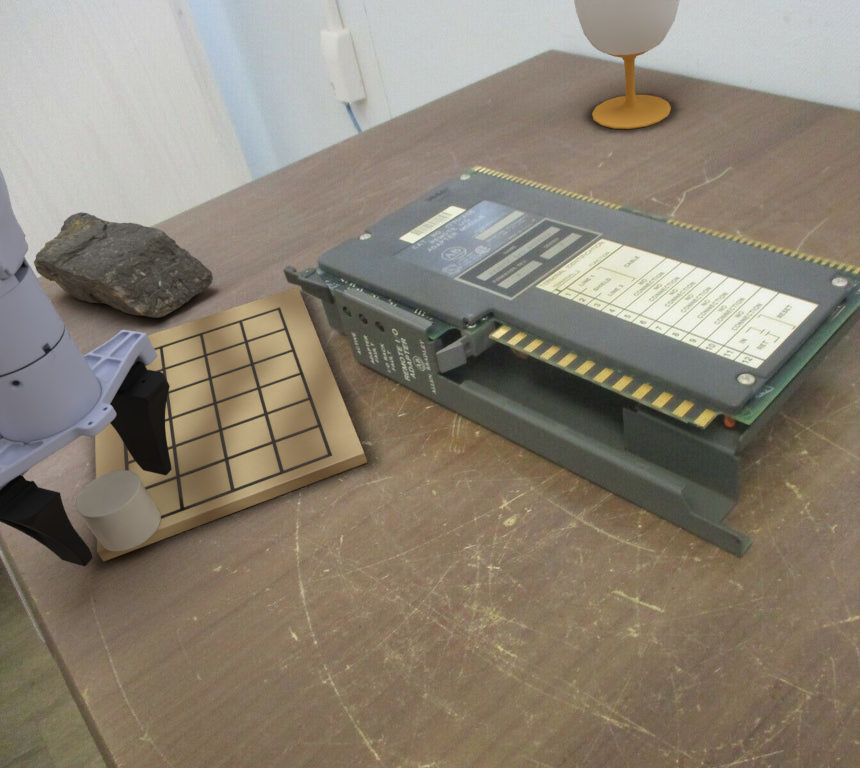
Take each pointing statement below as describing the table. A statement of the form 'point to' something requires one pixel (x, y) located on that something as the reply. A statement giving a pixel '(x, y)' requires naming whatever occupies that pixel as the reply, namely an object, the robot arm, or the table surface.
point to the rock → (122, 266)
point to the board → (240, 415)
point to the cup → (627, 52)
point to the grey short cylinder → (118, 510)
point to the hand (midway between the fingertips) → (119, 511)
